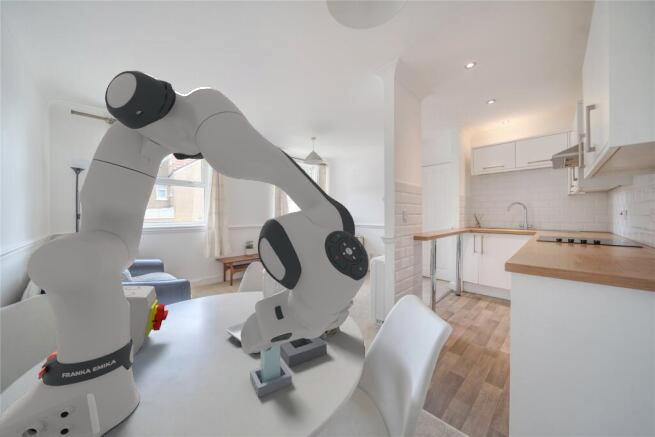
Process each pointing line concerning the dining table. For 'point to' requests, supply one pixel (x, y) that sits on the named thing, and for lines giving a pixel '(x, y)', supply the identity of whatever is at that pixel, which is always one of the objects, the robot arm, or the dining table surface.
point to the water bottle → (269, 285)
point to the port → (302, 350)
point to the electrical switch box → (143, 313)
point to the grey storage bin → (272, 384)
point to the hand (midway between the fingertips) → (287, 340)
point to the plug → (270, 364)
